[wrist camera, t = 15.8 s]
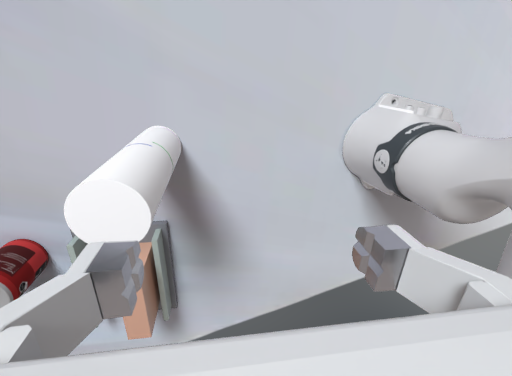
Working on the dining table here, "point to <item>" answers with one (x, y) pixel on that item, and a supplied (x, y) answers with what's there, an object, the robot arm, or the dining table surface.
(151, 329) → the terracotta tile
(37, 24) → the dining table surface
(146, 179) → the cylindrical container
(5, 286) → the canned food
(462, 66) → the dining table surface
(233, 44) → the dining table surface
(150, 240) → the slotted rail base
